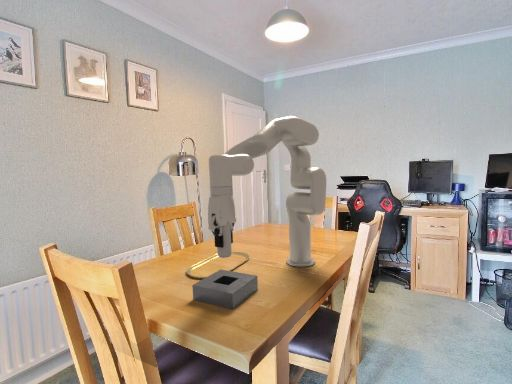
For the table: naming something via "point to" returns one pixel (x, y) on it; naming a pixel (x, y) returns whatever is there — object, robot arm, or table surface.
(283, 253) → the table surface
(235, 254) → the gold oval ring
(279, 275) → the table surface
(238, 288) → the socket block
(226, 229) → the beverage can
